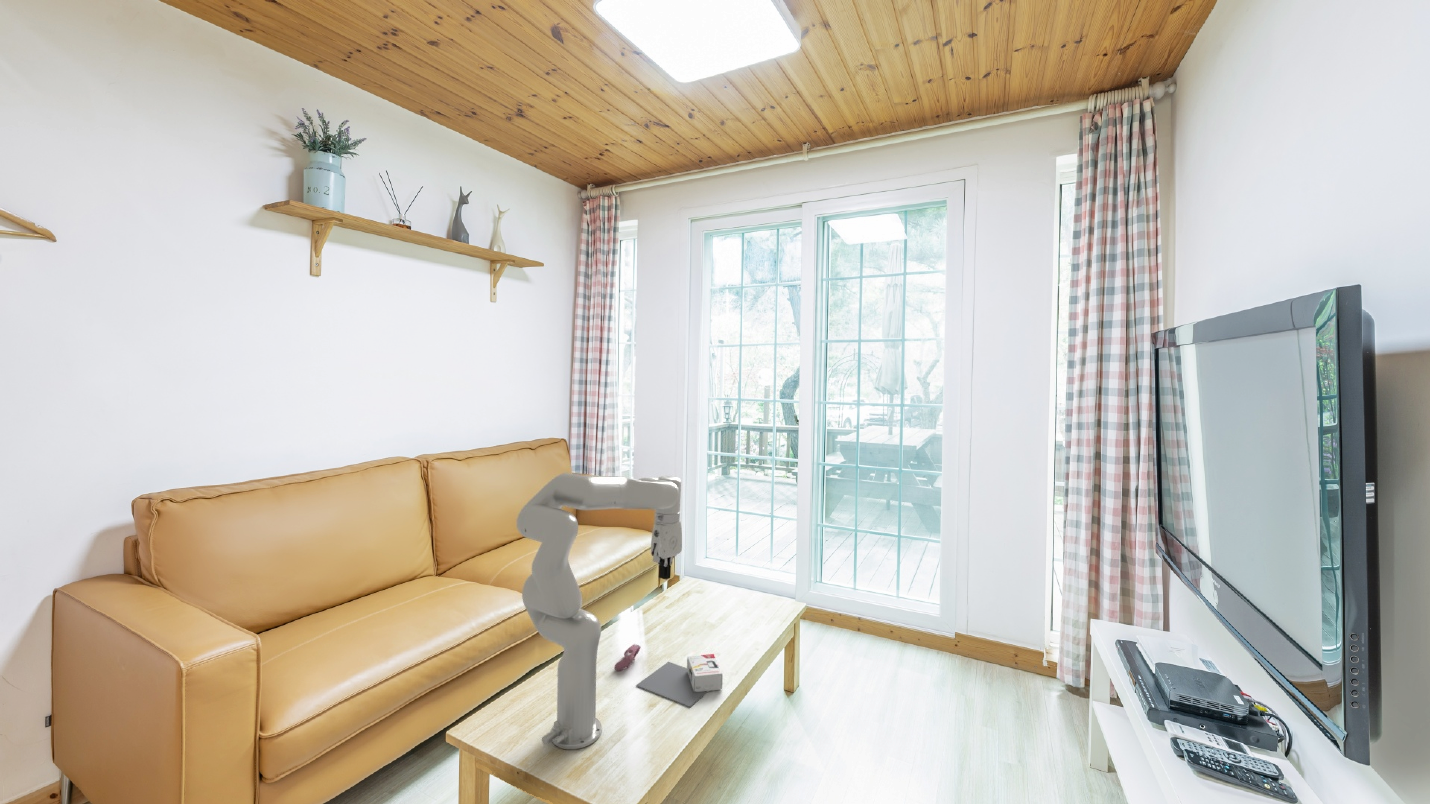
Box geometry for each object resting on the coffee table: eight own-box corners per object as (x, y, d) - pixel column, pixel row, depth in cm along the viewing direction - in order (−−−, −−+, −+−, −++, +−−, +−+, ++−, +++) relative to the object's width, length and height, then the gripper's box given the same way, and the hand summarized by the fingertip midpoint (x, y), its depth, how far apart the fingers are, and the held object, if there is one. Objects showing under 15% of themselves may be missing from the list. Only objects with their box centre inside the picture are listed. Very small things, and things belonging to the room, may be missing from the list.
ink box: (714, 653, 172) (723, 672, 161) (713, 669, 172) (723, 689, 161) (686, 655, 170) (694, 675, 158) (686, 672, 170) (693, 692, 159)
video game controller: (624, 678, 169) (635, 659, 168) (612, 669, 170) (622, 651, 169) (635, 661, 179) (645, 644, 178) (623, 654, 180) (633, 636, 179)
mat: (690, 708, 152) (690, 706, 152) (636, 686, 162) (636, 685, 162) (719, 681, 166) (719, 680, 166) (668, 662, 176) (668, 661, 176)
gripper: (661, 524, 158) (658, 587, 158) (691, 515, 171) (689, 574, 171) (641, 519, 162) (638, 581, 163) (672, 511, 175) (669, 569, 175)
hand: (664, 578), depth 167 cm, fingers closed
